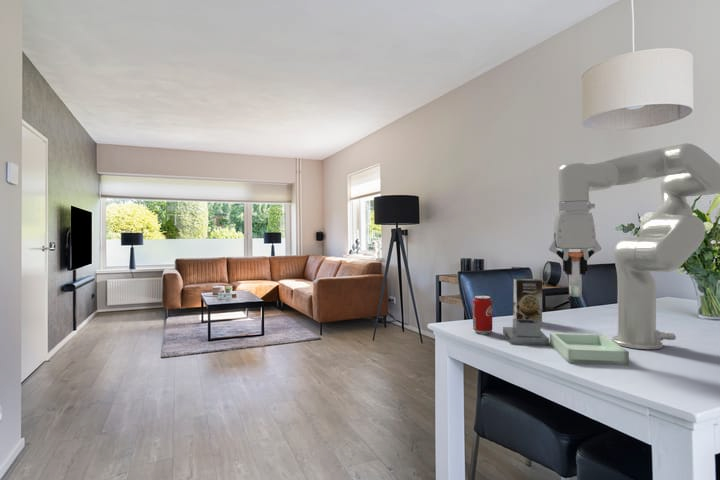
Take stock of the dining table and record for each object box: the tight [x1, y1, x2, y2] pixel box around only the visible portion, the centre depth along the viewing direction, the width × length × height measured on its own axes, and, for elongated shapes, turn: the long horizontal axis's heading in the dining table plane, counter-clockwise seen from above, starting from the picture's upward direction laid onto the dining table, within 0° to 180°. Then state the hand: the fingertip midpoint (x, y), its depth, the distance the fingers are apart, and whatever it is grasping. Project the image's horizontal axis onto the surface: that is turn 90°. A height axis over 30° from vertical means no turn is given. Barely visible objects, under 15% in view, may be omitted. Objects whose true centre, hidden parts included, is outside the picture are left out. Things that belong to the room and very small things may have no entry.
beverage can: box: [472, 295, 493, 335], centre depth 142 cm, size 6×6×12 cm
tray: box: [549, 332, 630, 366], centre depth 115 cm, size 14×18×4 cm
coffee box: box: [512, 278, 543, 325], centre depth 157 cm, size 9×6×16 cm
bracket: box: [502, 318, 550, 346], centre depth 133 cm, size 11×14×6 cm
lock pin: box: [568, 251, 583, 298], centre depth 118 cm, size 4×4×12 cm
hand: (575, 273), depth 118 cm, fingers closed on lock pin, 3 cm apart
